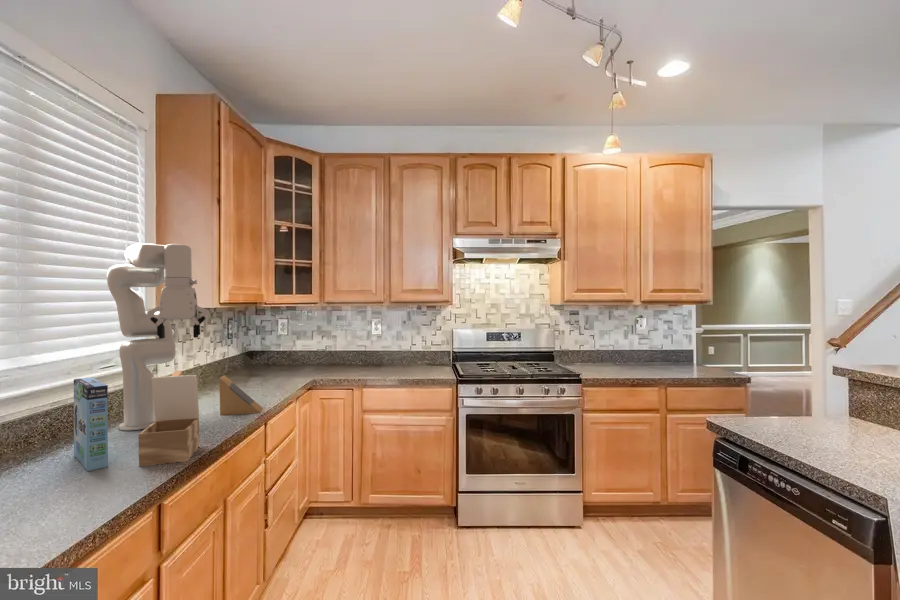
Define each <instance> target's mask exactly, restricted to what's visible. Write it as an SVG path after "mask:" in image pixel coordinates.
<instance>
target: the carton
mask: <svg viewBox="0 0 900 600" xmlns="http://www.w3.org/2000/svg"><path fill="white" fill-rule="evenodd" d="M137 437H138V467H145V466H146V467H147V466H148V465H149V466H156V464H159V465H166V464H165V463H169V464H176V462H180V463H187V462H188V461H189V460H190V459H191V458H192V457H193V455H194V454H195V453H196V451H197V450H198V449H199V448H200V417H199V418H192V419H178V420H165V421H155V422H154V423H152V424H151V425H150V426H148V427H147V428H146V429H142V431H140V432H139V433H138V435H137ZM198 447H199V448H198ZM194 452H195V453H194ZM190 457H191V458H190ZM186 461H187V462H186Z"/></svg>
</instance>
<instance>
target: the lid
mask: <svg viewBox="0 0 900 600" xmlns="http://www.w3.org/2000/svg"><path fill="white" fill-rule="evenodd" d="M152 388H153V399H154V410H155V421H165V420H178V419H192V418H199V419H200V409H199V407H200V406H199V391H198V380H197V374H188V375H183V370H175V371H174V372H173V373H172V374H171V375H169V376H168V375H166V376H154V377H152Z"/></svg>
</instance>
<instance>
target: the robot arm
mask: <svg viewBox="0 0 900 600" xmlns="http://www.w3.org/2000/svg"><path fill="white" fill-rule="evenodd" d="M124 257H125V260H126V262H127V263H124V264H123V263H122V264H115V265H112V266H110V267H109V268H108V270H107V273H106V282H107V287H108V290H109V292H110V295H111V296H112V298H113V299H114V301H115V304H116V309H117V310H116V311H117V315H118V322H119V327H120V331H121V334H122V335H123V336H124V337H126V338H138V339H131V340H127V341H124V343H122V344H121V345H120V346H119V349H118V350H119V353H118V354H119V358H120V363H121V369H122V387H123V388H122V390H123V391H122V392H123V422H122V423H120V424H119V425H118V429H119V431H139V430H144V429H146V428H147V427H148V426H150V425H151V424H152V423H154V422H155V410H154V399H153V388H152V377H155V375H154V373H153V372H152V371H151V370H150V369H149V368H148V367H147V366H151V365H157V364H158V365H159V364H166V363H170V362H173V360H175V357H176V352H177V351H176V344H175V338H174V333H173V329H172V322H171V320H191V322H193V323H194V324H193V325H192V329H193V332H192V333H193V338H196V339H197V338H199V336H200V335H201V324H202V323H203V322H204V321H206V319H207V318H208V315H209V314H210V310H207V309H205V308H204V307H201V306H199V305H198V298H197V292H196V288H195V287H193V285H197V284H198V280H197V279H193V275H192V273H193V272H192V271H193V270H192V269H193V268H192V248H191V247H190V246H189V245H188V244H181V243H179V244H178V243H169V244H166V245H164V244H155V243H134V244H130V245H129V246H128V247H127V248H126V249H125V251H124ZM162 284H164V285H163V286H164V287H162V288H161V291H160V297H159V305H158V306H157V307H154V308H152V309H150V310H146V307H145V301H144V299H143V298H142V296H141V295H140V294H138V292H136V290H134V289H133V288H159V287H160V286H162ZM199 312H200V313H202V315H201V316H200V318H199V317H198V316H199ZM147 337H148V338H147ZM149 337H150V338H149ZM151 337H155V338H151ZM139 338H140V339H139Z"/></svg>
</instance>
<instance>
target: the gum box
mask: <svg viewBox="0 0 900 600" xmlns="http://www.w3.org/2000/svg"><path fill="white" fill-rule="evenodd" d="M108 386H109V385H108V384H106V383H104V382H102V381H100V380H99V379H97V378H94V377H93V376H91V377H90V376H89V377H83V378H75V379H73V455H74V458H76V459H77V460H78V462H79V463H80V464H81V465H82V467H83V468H84V469H85V471H86V472H87V473H88V472H93V471H97V469H98V470H101V469H106V468H108V467H109V454H108V453H109V452H108V451H109V450H108V449H109V448H108V445H109V436H108V435H109V434H108V433H109V432H108V429H109V428H108V427H109V426H108V425H109V422H108V420H109V418H108V417H109V416H108V414H109V412H108V409H109V407H108V400H109V399H108V392H109V391H108V390H109V389H108V388H109V387H108Z"/></svg>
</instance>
